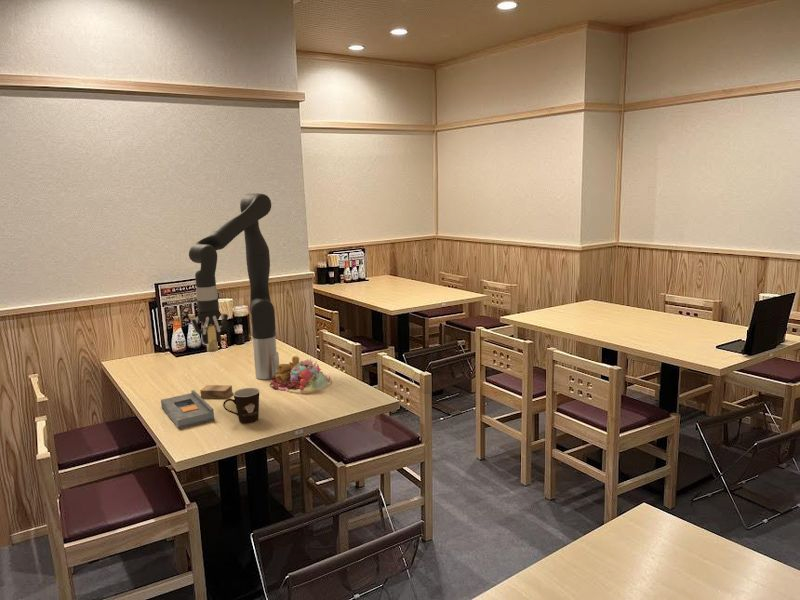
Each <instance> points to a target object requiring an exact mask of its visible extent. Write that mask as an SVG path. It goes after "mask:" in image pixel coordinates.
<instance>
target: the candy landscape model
mask: <svg viewBox="0 0 800 600" xmlns="http://www.w3.org/2000/svg"><path fill="white" fill-rule="evenodd" d="M291 359H292V360H291V361H289V363H279V366H278V367H277V369H278V370H279V372H277V373H276V376H274V377H272V379H270V384H269V386H271V388H272V389H275V390H280V391H286V392H287V393H290V394H296V395H301V394H302V395H303V394H309V393H314V392H318V391H320V390H323V389H326V388H327V387H329V386H330V385H331V384H332V379H331V376H327V375H326V374H324V373H323V371H321V370H322V369H321V368H320V366H319V363H317V360H315V363H313V361H312V359H311V358H310V360H309V359H305V360H303V361H302V360H300V357H299V356H298V355H295V356H293V357H292V358H291Z"/></svg>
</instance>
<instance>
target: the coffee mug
mask: <svg viewBox="0 0 800 600" xmlns="http://www.w3.org/2000/svg"><path fill="white" fill-rule="evenodd" d="M232 395H233V398H234V399H233V398H228V399H227V398H226V400H224V401H223V405H222V406H223V409H224V410H225V411H227V412H228V413H231V414H233V415H236V416H237V417H238V421H239V423H240V424H243V425H247V424H248V425H250V424H253V423H256V422H258V421H259V416H260V415H259V414H260V413H259V411H260V389H258V388H255V387H246V388H241V389H237V390H235V391H234V392H232ZM229 401H230V402H232V403H233V404H234V405H235V408H236V412H235V411H232V410H230V409H228V408H227V407H226V403H227V402H229Z"/></svg>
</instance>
